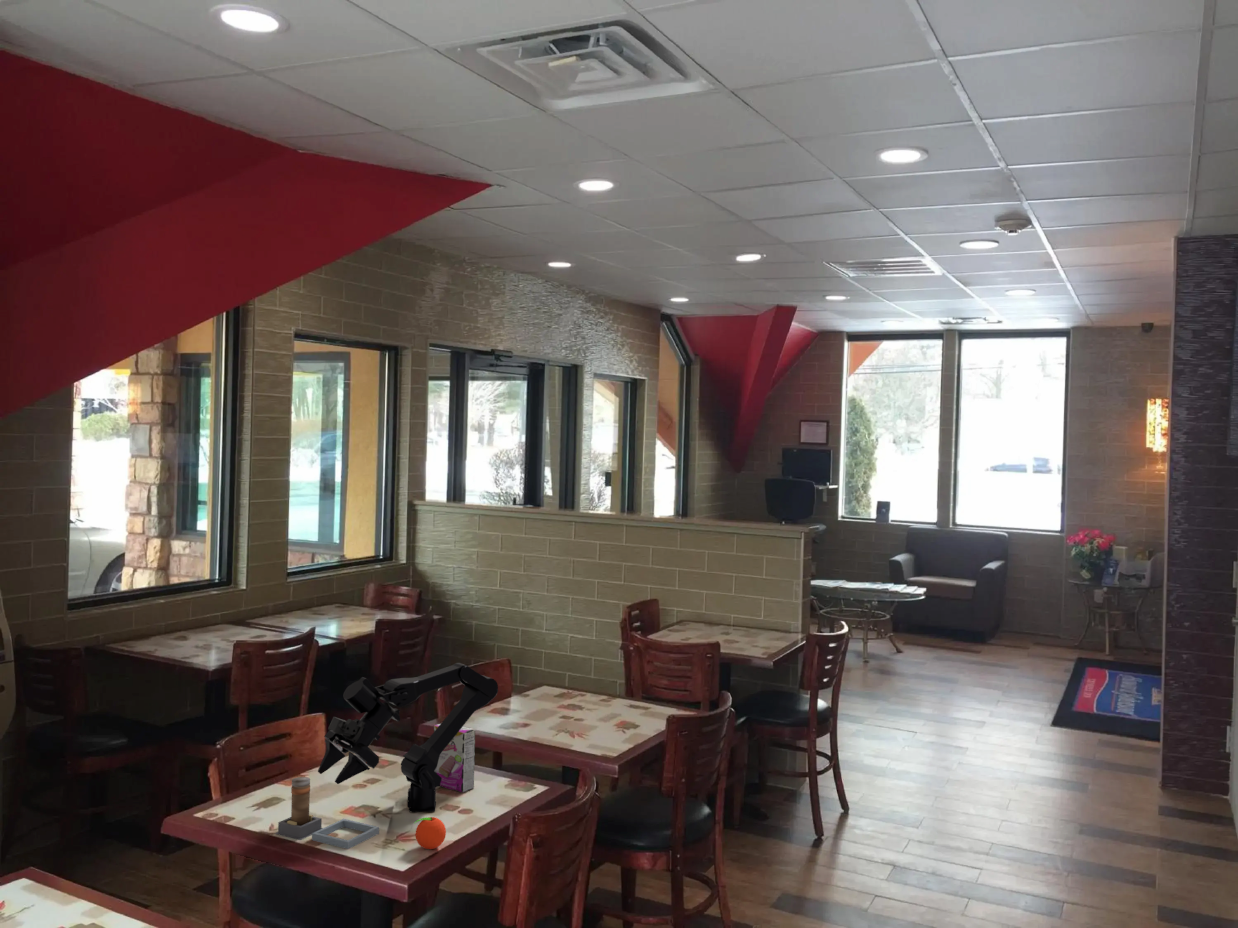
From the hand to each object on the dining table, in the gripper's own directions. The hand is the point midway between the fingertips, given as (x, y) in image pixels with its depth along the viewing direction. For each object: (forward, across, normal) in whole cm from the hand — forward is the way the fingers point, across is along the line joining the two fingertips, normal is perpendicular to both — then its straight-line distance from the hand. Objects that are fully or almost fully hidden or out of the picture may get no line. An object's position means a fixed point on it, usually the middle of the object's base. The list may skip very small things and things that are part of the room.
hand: (327, 777), depth 240 cm
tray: (+9, +9, +9) cm, 16 cm away
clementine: (-1, +23, +19) cm, 30 cm away
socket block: (+14, 0, +4) cm, 14 cm away
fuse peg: (+12, 0, +3) cm, 13 cm away
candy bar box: (-20, -9, +38) cm, 44 cm away
